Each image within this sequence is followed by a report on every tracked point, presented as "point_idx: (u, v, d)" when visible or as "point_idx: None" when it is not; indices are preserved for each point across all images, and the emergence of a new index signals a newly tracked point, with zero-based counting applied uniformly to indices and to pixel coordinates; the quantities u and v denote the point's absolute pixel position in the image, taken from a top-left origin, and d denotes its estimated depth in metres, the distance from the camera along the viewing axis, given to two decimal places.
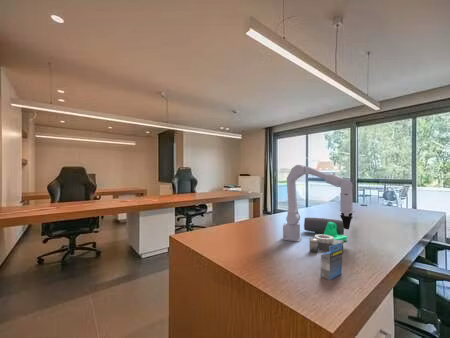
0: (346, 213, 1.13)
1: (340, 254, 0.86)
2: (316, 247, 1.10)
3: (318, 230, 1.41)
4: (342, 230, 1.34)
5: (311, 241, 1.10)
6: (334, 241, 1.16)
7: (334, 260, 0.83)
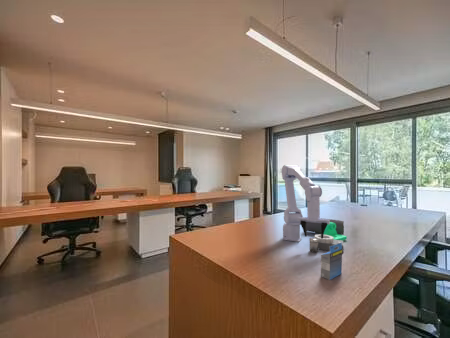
0: None
1: (340, 254, 0.86)
2: (316, 247, 1.10)
3: (318, 230, 1.41)
4: (342, 230, 1.34)
5: (311, 241, 1.10)
6: (334, 241, 1.16)
7: (334, 260, 0.83)
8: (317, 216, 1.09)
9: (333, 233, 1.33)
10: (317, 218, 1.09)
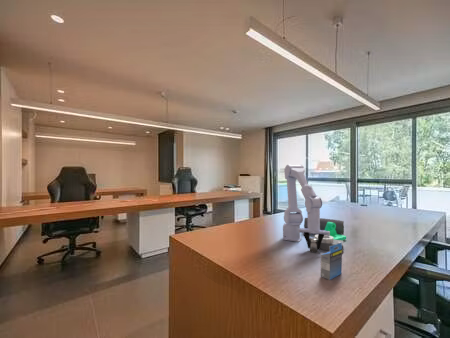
0: None
1: (340, 254, 0.86)
2: (316, 247, 1.10)
3: None
4: (342, 230, 1.34)
5: (311, 241, 1.10)
6: (334, 241, 1.16)
7: (334, 260, 0.83)
8: (317, 228, 1.09)
9: (333, 233, 1.33)
10: (317, 230, 1.09)
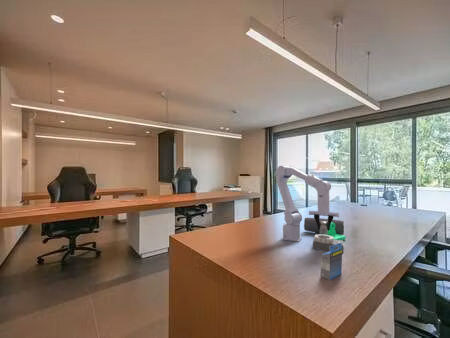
0: (309, 212, 1.21)
1: (340, 254, 0.86)
2: (326, 229, 1.15)
3: (318, 230, 1.41)
4: (342, 230, 1.34)
5: (321, 223, 1.17)
6: (334, 241, 1.16)
7: (334, 260, 0.83)
8: (327, 209, 1.15)
9: (332, 233, 1.33)
10: (327, 211, 1.15)
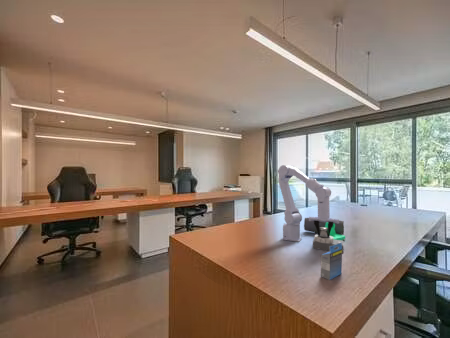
0: (309, 218, 1.21)
1: (340, 254, 0.86)
2: (326, 235, 1.15)
3: None
4: (342, 230, 1.34)
5: (321, 229, 1.16)
6: (334, 241, 1.16)
7: (334, 260, 0.83)
8: (327, 216, 1.15)
9: (332, 233, 1.33)
10: (327, 218, 1.15)
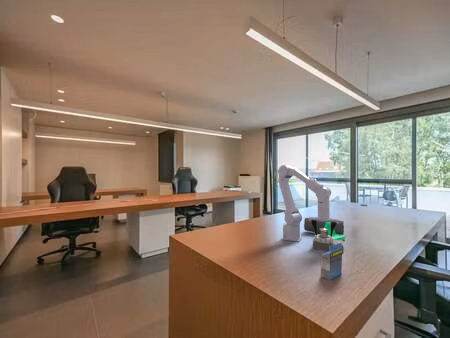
0: (309, 218, 1.21)
1: (340, 254, 0.86)
2: (326, 236, 1.15)
3: (318, 230, 1.41)
4: (342, 230, 1.34)
5: (321, 231, 1.16)
6: (334, 241, 1.16)
7: (334, 260, 0.83)
8: (327, 216, 1.15)
9: (332, 233, 1.33)
10: (327, 218, 1.15)
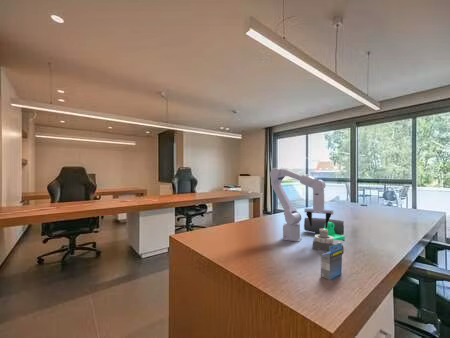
0: None
1: (340, 254, 0.86)
2: (326, 237, 1.15)
3: (318, 230, 1.41)
4: (342, 230, 1.34)
5: (321, 231, 1.16)
6: (334, 241, 1.16)
7: (334, 260, 0.83)
8: (322, 207, 1.20)
9: (331, 233, 1.33)
10: (322, 209, 1.20)
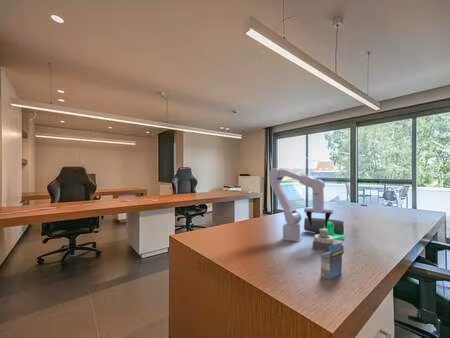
0: (304, 209, 1.26)
1: (340, 254, 0.86)
2: (326, 237, 1.15)
3: (318, 230, 1.41)
4: (342, 230, 1.34)
5: (321, 231, 1.16)
6: (334, 241, 1.16)
7: (334, 260, 0.83)
8: (321, 207, 1.20)
9: (331, 232, 1.34)
10: (321, 209, 1.20)
